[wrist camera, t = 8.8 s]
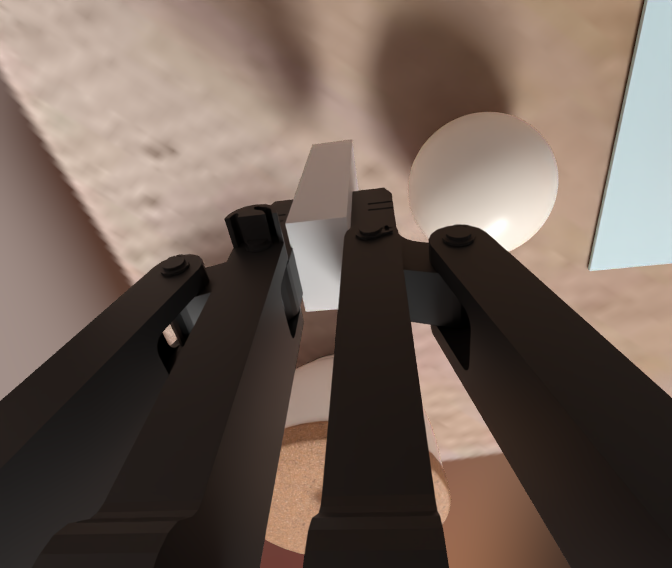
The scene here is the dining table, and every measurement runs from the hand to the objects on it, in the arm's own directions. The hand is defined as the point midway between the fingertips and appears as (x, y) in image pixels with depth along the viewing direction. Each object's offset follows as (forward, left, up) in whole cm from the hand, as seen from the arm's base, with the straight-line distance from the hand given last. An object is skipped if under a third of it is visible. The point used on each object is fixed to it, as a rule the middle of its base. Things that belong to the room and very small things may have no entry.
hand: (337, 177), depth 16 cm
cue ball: (+2, +5, 0) cm, 6 cm away
